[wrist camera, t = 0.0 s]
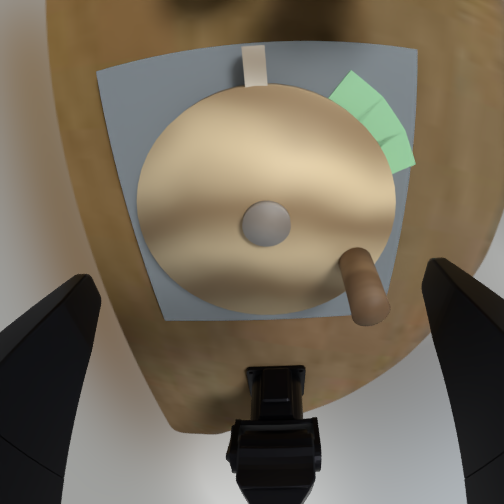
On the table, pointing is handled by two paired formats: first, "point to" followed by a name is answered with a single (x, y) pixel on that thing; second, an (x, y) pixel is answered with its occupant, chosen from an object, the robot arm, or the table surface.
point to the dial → (269, 200)
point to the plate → (278, 71)
